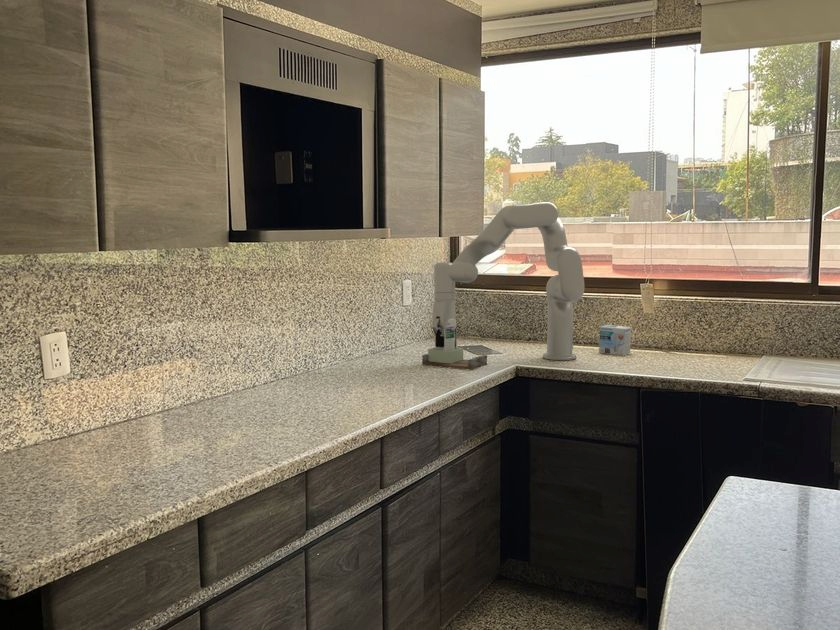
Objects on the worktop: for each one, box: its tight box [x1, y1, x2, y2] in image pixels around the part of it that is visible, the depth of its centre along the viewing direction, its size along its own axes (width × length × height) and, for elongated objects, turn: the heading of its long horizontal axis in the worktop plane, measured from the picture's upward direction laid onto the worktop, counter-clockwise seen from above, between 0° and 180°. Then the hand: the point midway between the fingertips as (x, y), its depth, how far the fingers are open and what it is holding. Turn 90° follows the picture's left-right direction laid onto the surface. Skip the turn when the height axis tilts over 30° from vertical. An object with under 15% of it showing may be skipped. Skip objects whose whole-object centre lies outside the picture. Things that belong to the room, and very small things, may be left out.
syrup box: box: [434, 318, 457, 351], centre depth 278 cm, size 6×6×14 cm
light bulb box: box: [598, 324, 632, 356], centre depth 301 cm, size 11×7×11 cm, turn 55°
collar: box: [427, 347, 464, 364], centre depth 278 cm, size 9×9×4 cm
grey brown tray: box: [421, 353, 488, 371], centre depth 277 cm, size 12×20×4 cm, turn 59°
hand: (445, 345), depth 278 cm, fingers closed on syrup box, 7 cm apart
